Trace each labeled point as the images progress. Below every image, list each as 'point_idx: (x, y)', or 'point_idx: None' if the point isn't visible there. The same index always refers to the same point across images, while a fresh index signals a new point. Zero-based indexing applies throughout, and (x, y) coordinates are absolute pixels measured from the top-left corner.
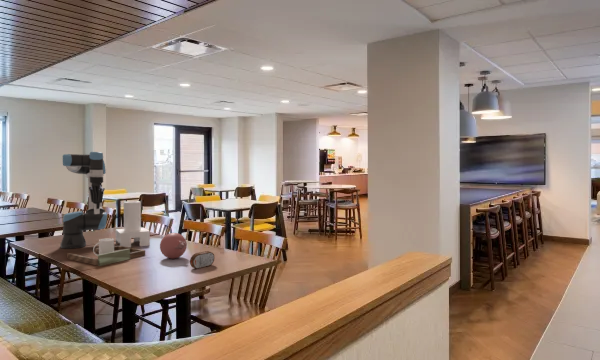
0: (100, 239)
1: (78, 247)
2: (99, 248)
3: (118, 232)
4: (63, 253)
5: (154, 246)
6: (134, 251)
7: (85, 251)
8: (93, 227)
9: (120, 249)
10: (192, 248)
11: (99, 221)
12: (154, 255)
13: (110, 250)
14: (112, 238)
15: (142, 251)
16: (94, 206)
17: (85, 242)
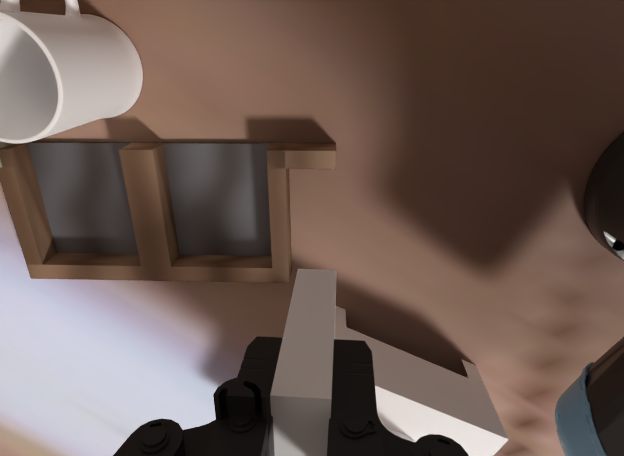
0: (44, 51)
1: (590, 177)
2: (40, 13)
3: (400, 392)
4: (534, 6)
5: (214, 407)
6: (114, 259)
7: (443, 137)
8: (616, 344)
9: (249, 259)
10: (29, 453)
11: (599, 411)
12: (5, 281)
13: (3, 70)
14: (14, 141)
15: (27, 258)
16: (316, 350)
17: (609, 247)
